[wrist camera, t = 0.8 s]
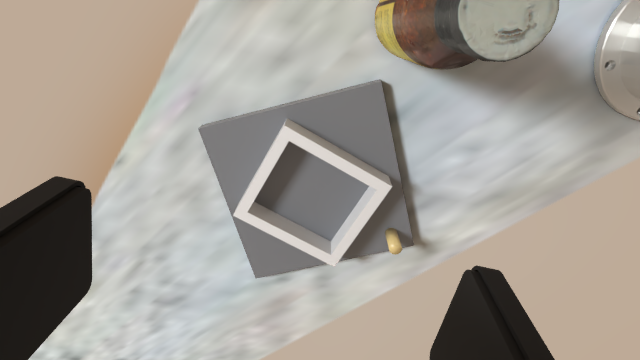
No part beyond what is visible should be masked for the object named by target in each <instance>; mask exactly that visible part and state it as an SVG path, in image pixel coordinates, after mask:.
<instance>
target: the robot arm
mask: <svg viewBox="0 0 640 360" xmlns="http://www.w3.org/2000/svg"><path fill="white" fill-rule="evenodd" d="M605 64H606V65H605ZM594 74H595V80H596V84H597V87H598V89H599V92H600V94H601V96H602V97H603V98H604V100H605V101H606V102H607V104H608V105H610V106H611V107H612V108H613V109H614V110H615V111H617V112H619V113H621V114H623V115H625V116H627V117H630V118H633V119H636V120H640V0H623V1H622V2H621V3H620V4H619V6H618V7H617V8H616V9H615V10H614V12H613V13H612V15H611V16H610V18H609V20H608V21H607V23H606V24H605V26H604V28H603V31H602V33H601V35H600V38H599V40H598V43H597V48H596V52H595V57H594ZM91 282H92V211H91V192H90V190H89V189H86V188H85V185H84V183H83V182H81V181H77V180H72V179H67V178H63V177H53V178H51V179H49V180H48V181H46V182H44V183H42V184H41V185H39V186H37V187H36V188H34V189H32V190H30V191H29V192H27V193H25V194H24V195H22V196H20V197H19V198H17V199H16V200H13V201H12V202H10V203H8V204H7V205H5V206H3V207H1V208H0V360H28V359H29V358H30V357H31V355H32V354H33V353H34V352H35V351H36V350H37V349H38V348H39V347H40V345H41V344H42V343H43V342H44V341H45V340H46V339H47V338H48V336H49V335H50V334H51V333H52V332H53V331H54V330H55V329H56V328H57V326H58V325H59V324H60V323H61V322H62V321H63V320H64V319H65V317H66V316H67V315H68V314H69V313H70V312H71V311H72V310H73V308H74V307H75V306H76V305H77V304H78V303H79V302H80V301H81V300H82V298H83V297H84V296H85V295H86V294H87V292H88V290H89V289H90V286H91ZM430 360H555V359H554V358H553V356H552V355H551V353H550V351H549V350H548V348H547V346H546V345H545V343H544V341H543V340H542V338H541V336H540V335H539V333H538V332H537V330H536V328H535V327H534V325H533V324H532V322H531V320H530V318H529V317H528V315H527V313H526V312H525V310H524V309H523V307H522V305H521V304H520V302H519V300H518V299H517V297H516V296H515V294H514V292H513V290H512V289H511V287H510V286H509V284H508V282H507V281H506V279H505V277H504V276H503V274H502V273H501V272H500V271H499V270H495V269H490V268H486V267H481V266H475V267H473V268H472V270H466V271H465V272H464V274H463V276H462V278H461V281H460V283H459V285H458V288H457V290H456V292H455V295H454V297H453V299H452V301H451V304H450V306H449V308H448V311H447V313H446V315H445V318H444V320H443V323H442V325H441V327H440V329H439V332H438V334H437V336H436V339H435V341H434V343H433V346H432V348H431V351H430Z"/></svg>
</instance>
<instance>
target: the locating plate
mask: <svg viewBox="0 0 640 360" xmlns="http://www.w3.org/2000/svg"><path fill="white" fill-rule="evenodd" d="M198 129H199V132H200V134H201V137H202V140H203V142H204V145H205V147H206V150H207V153H208V155H209V158H210V160H211V163H212V166H213V168H214V171H215V173H216V176H217V179H218V181H219V184H220V186H221V189H222V192H223V194H224V197H225V199H226V202H227V205H228V207H229V210H230V212H231V215H232V218H233V220H234V223H235V225H236V228H237V231H238V233H239V236H240V238H241V241H242V244H243V246H244V249H245V251H246V254H247V257H248V259H249V262H250V265H251V267H252V270H253V272H254V275H255V278H260V277H265V276H270V275H274V274H279V273H284V272H289V271H294V270H298V269H303V268H308V267H313V266H317V265H322V264H329V265H331V266H333V267H335V265H336V264H337V263H338V261H341V260H346V259H351V258H356V257H360V256H365V255H370V254H375V253H379V252H384V251H390V252H391V253H392V254H399V253H400V252H401V251H402V248H403V247H408V246H413V245H414V243H413V238H412V233H411V228H410V223H409V218H408V213H407V208H406V203H405V198H404V193H403V188H402V183H401V178H400V173H399V168H398V163H397V158H396V153H395V148H394V143H393V138H392V133H391V127H390V122H389V117H388V112H387V107H386V102H385V97H384V92H383V87H382V82H381V80H380V79H379V80H375V81H372V82H368V83H364V84H360V85H356V86H352V87H348V88H344V89H341V90H337V91H333V92H329V93H325V94H321V95H317V96H313V97H309V98H306V99H302V100H298V101H294V102H290V103H286V104H282V105H278V106H275V107H271V108H267V109H263V110H259V111H255V112H251V113H247V114H243V115H240V116H236V117H232V118H228V119H224V120H220V121H216V122H212V123H208V124H205V125H202V126H201V127H199V128H198Z"/></svg>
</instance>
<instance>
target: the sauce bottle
mask: <svg viewBox="0 0 640 360" xmlns="http://www.w3.org/2000/svg"><path fill="white" fill-rule="evenodd" d="M558 10H559V0H380V1H379V4H378V6H377V8H376V12H375V27H376V33H377V36H378V39H379V40H380V42H381V43H382V44H383V46H384V47H385V48H386V49H387V50H388V51H389V52H390V53H392V54H394V55H396V56H397V57H400V58H403V59H405V60H408V61H411V62H414V63H416V64H419V65H422V66H424V67H428V68H434V69H452V68H458V67H462V66H465V65H467V64H470V63H472V62H474V61H475V60H477V59H480V60H482V61H493V62H495V61H497V62H505V61H509V60H512V59H516V58H518V57H520V56H522V55H524V54H526V53H528V52H530V51H531V50H533V49H534V48H535V47H536V46H537V45H539V44H540V43H541V42H542V41H543V39H544V38H545V37H546V35H547V34H548V33H549V32H550V31H551V29H552V27H553V25H554V23H555V20H556V17H557V14H558Z"/></svg>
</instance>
